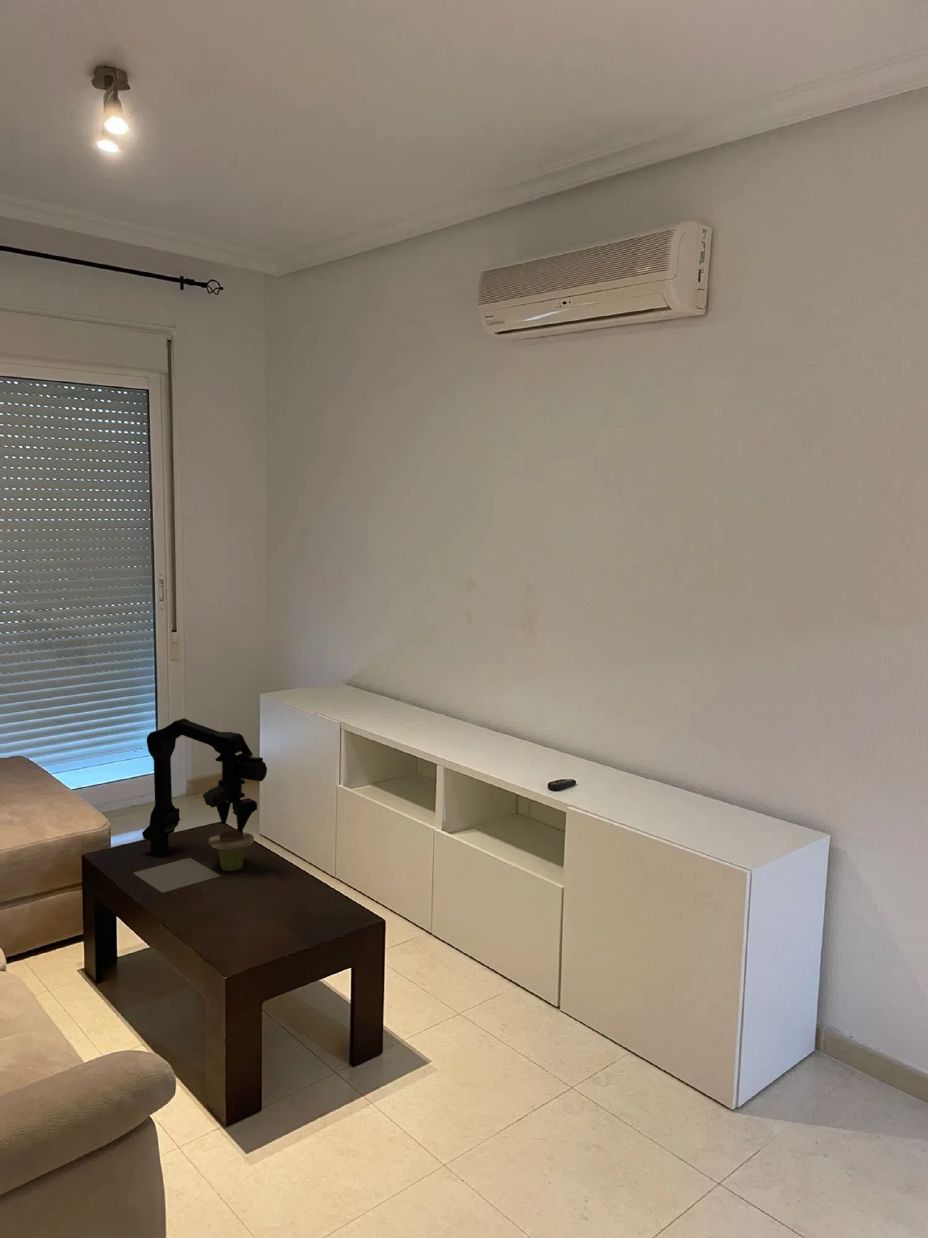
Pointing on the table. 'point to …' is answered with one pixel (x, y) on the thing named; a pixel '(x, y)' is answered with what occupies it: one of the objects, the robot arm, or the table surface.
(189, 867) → the mat
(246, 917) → the table surface
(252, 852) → the table surface
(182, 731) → the robot arm
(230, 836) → the lid
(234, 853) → the plant pot
